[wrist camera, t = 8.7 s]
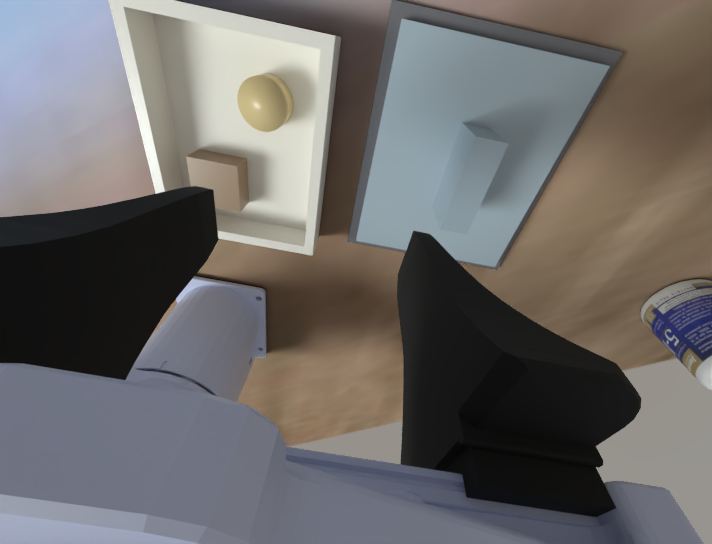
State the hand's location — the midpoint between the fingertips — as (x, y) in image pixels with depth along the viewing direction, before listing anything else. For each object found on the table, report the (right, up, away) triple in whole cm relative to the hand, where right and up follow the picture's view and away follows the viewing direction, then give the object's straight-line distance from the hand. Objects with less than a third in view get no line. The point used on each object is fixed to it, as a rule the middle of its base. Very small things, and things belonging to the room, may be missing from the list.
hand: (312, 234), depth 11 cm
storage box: (-5, +7, +8) cm, 12 cm away
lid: (+8, +5, +8) cm, 12 cm away
